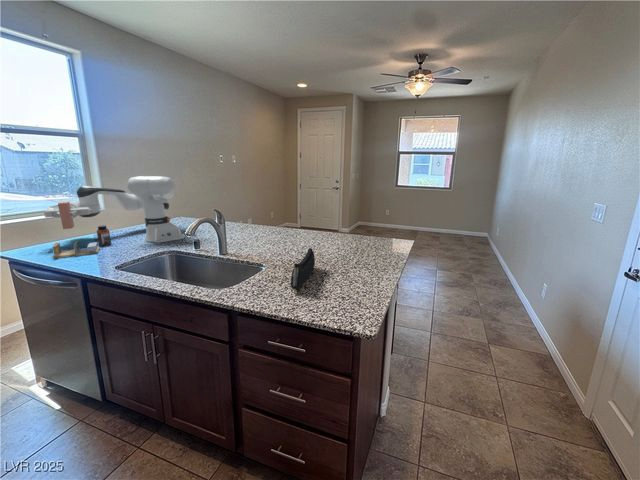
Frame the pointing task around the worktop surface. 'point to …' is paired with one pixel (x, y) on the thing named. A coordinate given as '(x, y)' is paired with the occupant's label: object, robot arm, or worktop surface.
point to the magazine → (302, 270)
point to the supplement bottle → (103, 235)
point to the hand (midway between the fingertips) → (65, 214)
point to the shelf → (68, 252)
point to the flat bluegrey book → (92, 247)
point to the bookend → (77, 248)
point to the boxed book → (66, 215)
